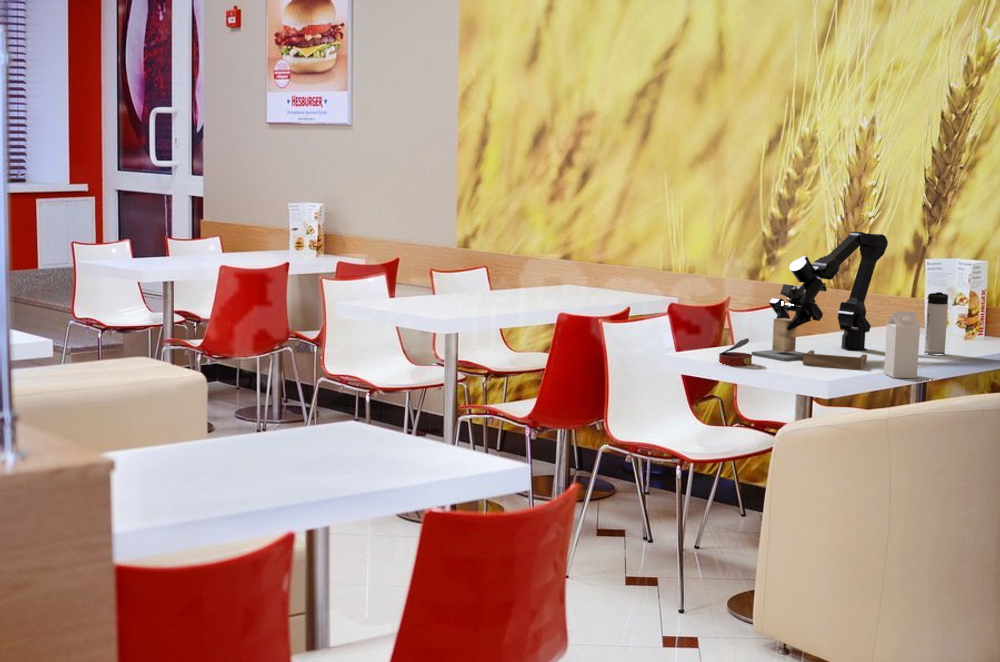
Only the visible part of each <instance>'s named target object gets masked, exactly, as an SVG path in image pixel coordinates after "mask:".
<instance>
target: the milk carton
mask: <svg viewBox="0 0 1000 662" xmlns="http://www.w3.org/2000/svg"><path fill="white" fill-rule="evenodd" d="M885 333H886V334H885V349H884V350H885V353H884V367H883V368H884V369H883V374H884V375H886V376H888V377H890V378H894V379H895V378H896V379H908V378H909V379H917V378H918V368H919V367H918V366H919V350H920V335H921V334H920V333H921V325H920V323H919V320H918V318H917V311H895V310H894V311H892V312H891V316H890V318H889V319H888V321H887V322H886V332H885Z"/></svg>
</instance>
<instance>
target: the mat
mask: <svg viewBox="0 0 1000 662" xmlns="http://www.w3.org/2000/svg"><path fill="white" fill-rule="evenodd" d="M804 353H805V352H803V351H797V350H795V351H792V352H779V351H774V350H772V349H769V350H768V349H767V350H759V351H758V350H755V351H751V355H752V356H755V357H760V358H765V359H766V358H767V359H770V360H775V361H781V362H789V361H797V360H803V354H804Z"/></svg>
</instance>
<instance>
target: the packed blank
mask: <svg viewBox="0 0 1000 662" xmlns="http://www.w3.org/2000/svg"><path fill="white" fill-rule="evenodd" d="M792 319H793V318H789V319H788V318H780V319H776V318H773V326H772V329H773V330H772V349H771V350H774V351H779V352H792V351H796V343H797V341H796V338H797V337H796V336H797V327H796V328H794V329H792V330H790V331H788V330H787V327H788V325H789V324H790V322H791V321H792Z"/></svg>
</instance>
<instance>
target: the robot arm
mask: <svg viewBox="0 0 1000 662" xmlns="http://www.w3.org/2000/svg"><path fill="white" fill-rule="evenodd" d="M888 244H889V240H888V239H887V237H886V235H884V234H881V233H869V232H868V233H867V232H866V233H865V232H864V231H857V230H856V231H855V230H854V231H850V233H849V234H848V236H847V237H846V238H845V239H844V240H843V241H842V242H841V243H839V244H838V245H837V246H836V247H835V248H834V249H833V250H832V251H831V252H830V253H829V254H827V255H824V256H822V257H820V258H818V259H816V260H814V262H812V263H811V261H810V259H809V257H808V255H807V256H806V255H801V257H800V258H797V259H795V260H793V261H792V262H791V263H790V264H789V270H790V271H791V273H792V274H793V276H794V277H795V278H796V280H797V282H799V283H802V284H797V286H796V285H793V284H786V283H785V284H782V287H781V290H780V295H782V296H784V297H786V301H787V302H788V303H786V301H785V300H784V299H783V298H778V297H772V298H771V299H770V301H769V302H768V304H769V306H770V307H771V309H773V311H774V313H775V314H776V318H775V319H780V318H788V319H792V321H791V322H790V324H789V325H788V327H787V330H788V331H790V330H792V329H794V328H796V329H797V327H799V326H802V325H804V324H806V323H808V322H812V320H813V321H817V322H820V321H821V320H822V318H823V315H824V312H823V311H822V310H821V308H820V306H819V305H818V304H817V302H816V297H817V296H818V294H819V293H820V292H827V285H826V284H827V283H826V282H823V280H828V281H829V280H833V279H834V278H835V277H836V276H837V274H838V273H839V271H840V266H841V265H842V264H843V263H844V262H845V261H846V260H847V259H848V258H849V257H850V256H851V255H852V254H853V253H854V252H855V251H857V249H858V248H859V253H860V257H861V258H860V262H859V265H858V268H857V271H856V272H857V273H856V276H855V278H854V282H853V285H852V289H851V290H850V295H849V298H848V299H847V300H846V301H841V303H840V304H839V305H840V306H839V309H838V311H837V320H838V321H837V322H838V325H839V329H840V330H842V331H843V334H842V335H841V346H840V348H841V349H844V350H847V351H867V349H868V348H865V345H866V344H865V343H866V333H869V332H870V329H871V324H870V323H869V321H868V319H867V318H866V316H867V315H866V314H867V309H866V305H865V301H866V298H867V294H868V291H869V289H870V284H871V281H872V277H873V274H874V271H875V268H876V265H877V262H878V261H879V260H880V259H881V258H882V257H883V256H884V255H885V252H886V250H887V248H888ZM790 311H791V312H792V313H795V314H794V316H793V318H791V316H790V315H789V313H790Z"/></svg>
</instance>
